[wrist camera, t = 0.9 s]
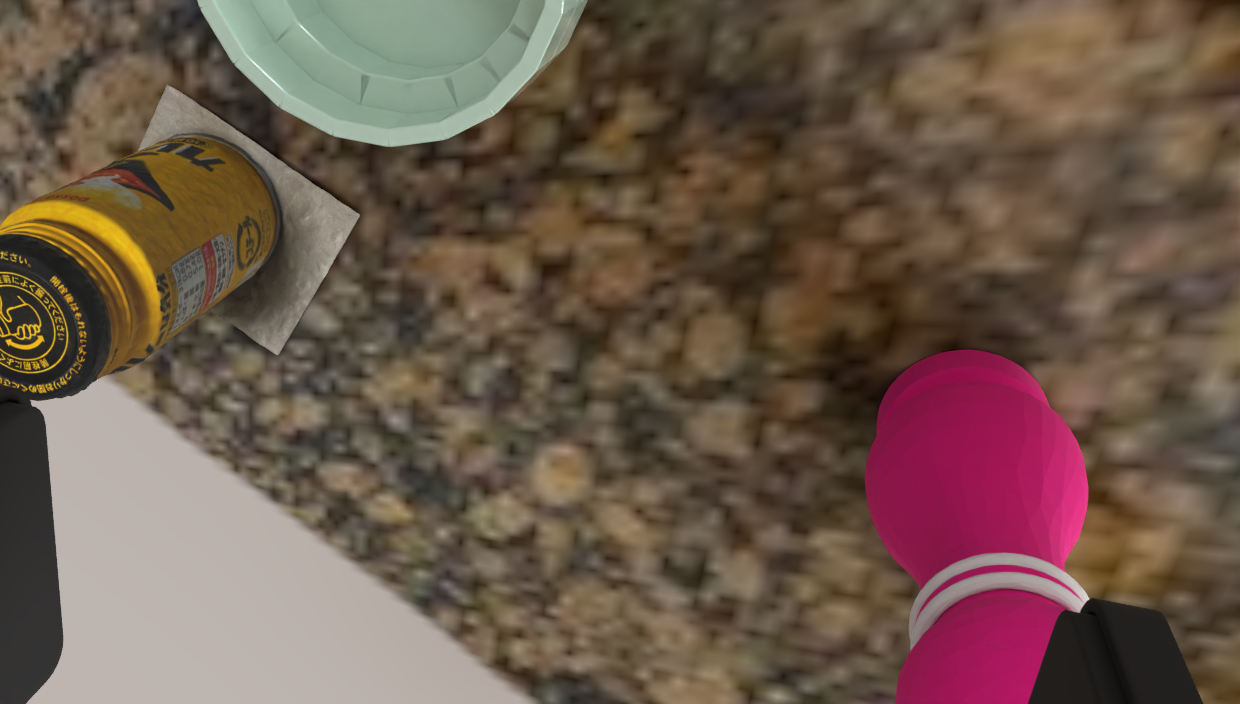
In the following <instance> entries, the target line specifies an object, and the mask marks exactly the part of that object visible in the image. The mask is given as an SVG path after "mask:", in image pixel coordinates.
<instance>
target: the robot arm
mask: <svg viewBox="0 0 1240 704" xmlns="http://www.w3.org/2000/svg"><path fill="white" fill-rule="evenodd" d="M62 648H63V628H62V617H61V605H60V592H59V580H58V569H57V557H56V544H55V533H54V520H53V510H52V497H51V485H50V473H49V461H48V449H47V437H46V425H45V420H44V416H43V414H42V413H41V411H40V410H39V409H37V408H36V407H32V405H31V401H30V399H29V398H28V396H27V394H26V393H25V392H24V391H22V390H21V389H19V388H16V387H11V386H6V385H1V384H0V704H26V703H27V702H28V700H29V699H30V698H31V697H32V696H33V695H34V694H35V693H36V692H37V691H38V690H39V689H40V688H41V687H42V685H44V683H45V682H46V681H47V680H48V679H49V678H50V676H51V675H52V673H53V672H54V670H55V668H56V666H57V664H58V661H59V659H60V656H61V652H62ZM1028 704H1203V702H1202V700H1201V698H1200V695H1199V693H1198V691H1197V689H1196V686H1195V684H1194V682H1193V679H1192V677H1191V675H1190V673H1189V670H1188V668H1187V666H1186V663H1185V661H1184V659H1183V657H1182V654H1181V652H1180V650H1179V648H1178V645H1177V643H1176V641H1175V638H1174V636H1173V634H1172V632H1171V629H1170V627H1169V625H1168V622H1167V620H1166V619H1165V617H1164V616H1163V614H1162V613H1161V612H1158V611H1156V610H1151V609H1146V608H1140V607H1135V606H1130V605H1125V604H1120V603H1115V602H1110V601H1105V600H1100V599H1094V598H1092V599H1090V600H1088V601H1086V603H1085V604H1084V606H1083V607H1082V608H1081V611H1080V613H1078V612H1073V611H1068V610H1064V611H1062V612H1061V613H1060V615H1059V616H1058V618H1057V620H1056V623H1055V625H1054V628H1053V631H1052V634H1051V637H1050V640H1049V643H1048V645H1047V648H1046V651H1045V654H1044V657H1043V660H1042V663H1041V666H1040V669H1039V672H1038V675H1037V678H1036V681H1035V684H1034V687H1033V690H1032V692H1031V695H1030V698H1029V701H1028Z"/></svg>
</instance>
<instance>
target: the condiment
mask: <svg viewBox="0 0 1240 704" xmlns="http://www.w3.org/2000/svg"><path fill="white" fill-rule="evenodd" d="M359 216H360V214H358V213H356V212H355V211H354V210H352V209H351V208H349V207H348V206H346V205H344V204H342V203H341V202H340V201H338V200H337V199H335V198H334V197H333V196H332V195H330V194H329V193H327V192H326V191H324V190H323V189H321V188H319V187H317V186H316V185H314V184H313V183H312V182H310V181H309V180H307V179H306V178H305V177H303V176H302V175H300V174H299V173H298V172H296V171H294V170H292V169H291V168H289V167H288V166H287V165H286V164H285V163H283V162H282V161H280V160H278V159H277V158H276V157H275V156H273V155H272V154H270V153H269V152H268V151H266V150H265V149H264V148H262V147H261V146H259V145H258V144H257V143H255V142H254V141H252V140H251V139H249V138H248V137H246V136H245V135H243V134H242V133H240V132H239V131H237V130H236V129H234V128H233V127H232V126H230V125H229V124H227V123H226V122H224V121H223V120H221V119H220V118H218V117H217V116H216V115H214V114H213V113H211V112H210V111H208V110H207V109H205V108H203V107H201V106H200V105H199V104H197V103H196V102H195V101H194V100H192V99H190V98H189V97H188V96H186V95H184V94H183V93H181V92H180V91H178V90H176V89H174V88H172V87H170V86H169V85H167V86H166V88H165V91H164V93H163V95H162V97H161V100H160V102H159V104H158V106H157V108H156V110H155V113H154V115H153V117H152V119H151V121H150V125H149V127H148V129H147V131H146V134H145V136H144V138H143V140H142V142H141V144H140V146H139V149H138V151H137V152H136V153H134V154H131V155H129V156H126V157H124V158H122V159H120V160H119V161H114V162H113V163H111V164H110V165H108V166H107V167H105V168H103V169H101V170H98V171H97V172H93V173H92V174H90V175H88V176H86V177H83V178H81V179H80V180H78V181H76V182H73V183H70V184H69V185H66V186H64V187H62V188H60V189H58V190H56V191H54V192H52V193H49V194H46V195H43V196H42V197H39V198H37V199H35V200H33V201H32V202H30V203H28V204H25V205H24V206H22V207H20V208H19V209H17V210H16V211H14V212H13V213H11V214H10V215H9V216H8V217H7V218H6V219H5V220H4V221H3V223H2V224H1V225H0V384H1V385H6V386H11V387H16V388H19V389H21V390H22V391H24V392H25V393H26V394H27V396H28V398H29V399H30V400H36V401H41V400H48V399H53V398H63V397H66V396H73V395H75V394H77V393H79V392H80V391H81V390H85V389H86V388H87V387H88V386H89V385H90V384H91V383H92V382H94V381H96V380H97V379H99V378H101V377H103V376H105V375H109V374H112V373H118V372H121V371H124V370H126V369H128V368H131V367H133V366H135V365H137V364H138V363H140V362H141V361H143V360H145V358H147V357H148V356H149V355H151V354H152V353H153V352H155V351H156V350H157V349H158V348H159V347H161V346H162V345H163V344H165V343H166V342H167V341H168V340H170V339H171V338H172V337H174V336H175V335H176V334H178V333H179V332H180V331H181V330H183V329H184V328H185V327H186V326H188V325H189V324H190V323H192V322H193V321H194V320H196V319H197V318H198V317H200V316H201V315H202V314H204V313H205V312H206V311H207V310H211V311H213V312H214V313H216V314H218V315H219V316H220V317H222V318H223V319H224V320H226V321H228V322H230V323H231V324H233V325H234V326H236V327H237V328H239V329H240V330H242V331H243V332H244V333H246V334H247V335H248V336H249V337H251V338H252V339H253V340H254V341H256V342H257V343H259V344H260V345H262V346H264V347H266V348H267V349H268V350H270V351H271V352H273V353H275V354H276V355H278V354H279V353H280V351H281V350H282V348H283V346H284V345H285V343H286V341H287V339H288V338H289V336H290V335H291V333H292V331H293V330H294V328H295V326H296V325H297V323H298V321H299V320H300V318H301V316H302V314H303V312H304V311H305V309H306V308H307V306H308V305H309V303H310V301H311V299H312V297H313V296H314V294H315V292H316V291H317V289H318V287H319V286H320V284H321V282H322V280H323V279H324V277H325V276H326V275H327V273H328V270H329V268H330V267H331V265H332V263H333V261H334V259H335V258H336V256H337V254H338V253H339V251H340V249H341V248H342V246H343V244H344V243H345V241H346V239H347V237H348V235H349V234H350V232H351V230H352V228H353V227H354V225H355V223H356V221H357V220H358V218H359Z"/></svg>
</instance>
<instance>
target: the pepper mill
mask: <svg viewBox="0 0 1240 704" xmlns="http://www.w3.org/2000/svg"><path fill="white" fill-rule="evenodd" d="M865 487H866V496H867V501H868V506H869V510H870V514H871V518H872V522H873V524H874V526H875V528H876V530H877V532H878V534H879V536H880V537H881V539H882V541H883V543H884V545H885V547H886V548H887V550H888V552H889V553H890V554H891V556H892V557H893V558H894V559H895V560H896V562H897V563H898V564H899V565H900V566H902V567H903V568H904V569H905V570H906V571H907V572H908V573H909V574H910V575H911V576H912V577H913V578H914V579H915V580H916V582H917V583H918V585H919V587H920V589H921V591H920V592H919V594H918V596H917V598H916V600H915V602H914V604H913V607H912V609H911V613H910V618H909V637H910V641H911V645H910V652H909V654H908V657H907V659H906V661H905V663H904V665H903V668H902V670H901V672H900V674H899V677H898V684H897V692H896V701H895V704H1028V701H1029V698H1030V695H1031V692H1032V690H1033V687H1034V684H1035V681H1036V678H1037V675H1038V672H1039V669H1040V666H1041V663H1042V660H1043V657H1044V654H1045V651H1046V648H1047V645H1048V643H1049V640H1050V637H1051V634H1052V631H1053V628H1054V625H1055V623H1056V620H1057V618H1058V616H1059V615H1060V613H1061V612H1062V611H1064V610H1068V611H1073V612H1078V613H1080V611H1081V608H1082V607H1083V606H1084V604H1085V603H1086V601H1088V600H1090V599H1089V598H1088V596H1087V594H1086V592H1085V591H1084V590H1083V589H1082V587H1081V586H1080V585H1079V584H1078V583H1077V582H1076V581H1075V580H1074V579H1073V578H1072V577H1071V576H1069V575H1068V574H1067V573H1066V572H1065V567H1064V565H1065V560H1066V558H1067V556H1068V555H1069V553H1070V551H1071V550H1072V548H1073V546H1074V544H1075V543H1076V541H1077V539H1078V538H1079V535H1080V532H1081V529H1082V525H1083V522H1084V519H1085V514H1086V509H1087V504H1088V482H1087V476H1086V470H1085V465H1084V460H1083V455H1082V453H1081V450H1080V447H1079V445H1078V442H1077V440H1076V438H1075V437H1074V435H1073V433H1072V432H1071V430H1070V429H1069V427H1068V426H1067V424H1066V423H1065V422H1064V421H1063V419H1062V418H1061V417H1060V416H1059V415H1058V414H1057V413H1056V412H1055V411H1053V410H1052V409H1051V408H1050V406H1049V403H1048V400H1047V398H1046V396H1045V394H1044V392H1043V390H1042V389H1041V387H1040V385H1039V384H1038V382H1037V381H1036V380H1035V379H1034V378H1033V377H1032V376H1031V375H1030V374H1029V373H1028V372H1027V371H1026V370H1024V369H1023V368H1022V367H1021V366H1019V365H1018V364H1016V363H1014V362H1012V361H1010V360H1008V359H1006V358H1004V357H1002V356H999V355H996V354H992V353H989V352H985V351H979V350H955V351H947V352H942V353H939V354H935V355H932V356H929V357H927V358H925V359H923V360H921V361H919V362H917V363H915V364H913V365H912V366H911V367H909V368H908V369H906V370H905V371H904V372H903V373H902V374H900V375H899V376H898V378H897V379H896V380H895V381H894V382H893V383H892V384H891V386H890V387H889V389H888V390H887V392H886V393H885V395H884V397H883V399H882V402H881V405H880V408H879V411H878V417H877V436H876V438H875V440H874V442H873V444H872V446H871V449H870V452H869V456H868V459H867V463H866V471H865Z"/></svg>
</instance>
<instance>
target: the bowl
mask: <svg viewBox="0 0 1240 704" xmlns="http://www.w3.org/2000/svg"><path fill="white" fill-rule="evenodd" d="M197 1H198V5H199V7H200V8H201V12H202V13H203V15H204V17H205V18H206V20H207V21H208V23H209V25H210V26H211V28H212V30H213V31H214V33H215V35H216V36H217V38H218V40H219V41H220V43H221V45H222V46H223V48H224V50H225V51H226V53H227V54H228V56H229V58H230V59H231V61H232V62H233V63H235V64H234V65H235V66H236V67H237V68H238V69H239V70H240V71H241V72H242V73H243V74H244V75H245V76H246V77H247V78H248V79H249V80H251V81H252V82H253V83H254V84H255V85H256V86H257V87H258V88H259V89H260V90H261V91H262V92H263V93H264V94H265V95H266V96H267V97H268V98H269V99H270V100H271V101H272V102H273V103H275V104H276V105H277V106H278V107H280V108H281V109H282V110H284V111H286V112H288V113H290V114H292V115H294V116H296V117H297V118H299V119H301V120H303V121H305V122H307V123H309V124H311V125H312V126H314V127H316V128H318V129H320V130H322V131H324V132H326V133H327V134H329V135H333V136H334V137H339V138H344V139H350V140H355V141H360V142H365V143H370V144H375V145H380V146H385V147H389V146H390V147H395V146H403V145H411V144H418V143H426V142H434V141H441V140H444V139H448V138H450V137H452V136H454V135H456V134H458V133H460V132H462V131H464V130H466V129H468V128H470V127H472V126H474V125H476V124H478V123H480V122H482V121H484V120H486V119H488V118H490V117H492V116H494V115H495V114H496V113H498V112H499V111H500V110H501V109H503V108H504V107H505V106H506V105H507V104H508V103H510V102H511V101H512V100H513V99H514V98H515V97H517V96H518V95H519V94H520V93H521V92H522V91H524V90H525V89H526V88H527V87H528V86H529V85H530V84H531V83H532V82H533V81H534V80H535V79H536V78H537V77H538V76H539V75H540V74H541V73H542V72H543V71H544V70H545V69H546V68H547V67H548V66H549V65H550V63H551V62H552V61H553V60H554V59H555V58H556V57H557V56H558V55H559V54H560V53H561V52H562V51H563V50H564V49H565V46H567V44H568V42H569V40H570V38H571V36H572V33H573V31H574V29H575V27H576V25H577V23H578V21H579V18H580V16H581V14H582V12H583V10H584V8H585V5H586V3H587V1H588V0H197Z"/></svg>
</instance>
